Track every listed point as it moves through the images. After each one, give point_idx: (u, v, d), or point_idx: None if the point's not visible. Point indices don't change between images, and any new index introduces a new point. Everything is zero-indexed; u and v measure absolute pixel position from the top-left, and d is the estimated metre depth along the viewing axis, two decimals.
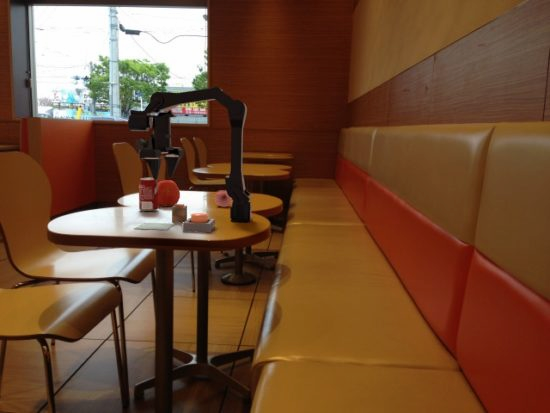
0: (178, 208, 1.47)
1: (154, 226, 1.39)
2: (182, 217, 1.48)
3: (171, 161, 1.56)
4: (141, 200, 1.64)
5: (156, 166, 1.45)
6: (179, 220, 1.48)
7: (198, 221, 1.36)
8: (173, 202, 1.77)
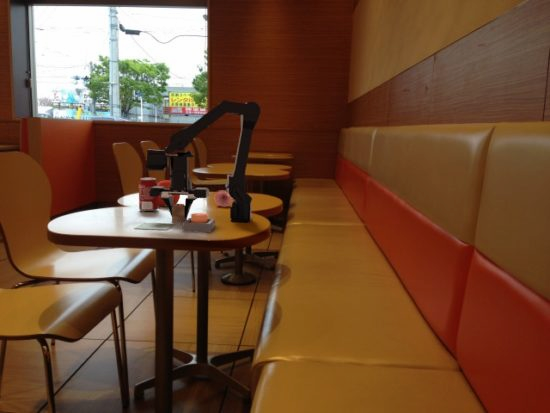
0: (178, 208, 1.47)
1: (154, 226, 1.39)
2: (182, 217, 1.48)
3: None
4: (141, 200, 1.64)
5: None
6: (179, 220, 1.48)
7: (198, 221, 1.36)
8: (173, 202, 1.77)
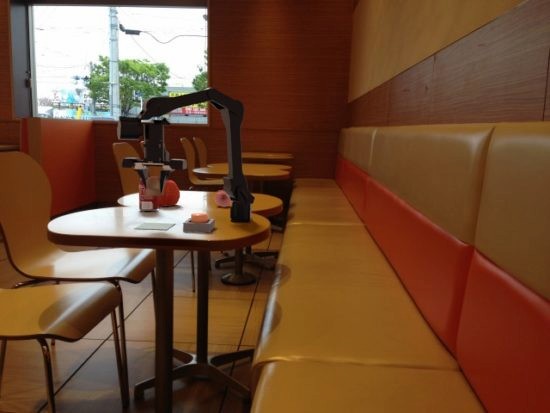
0: (153, 180, 1.36)
1: (154, 226, 1.39)
2: (157, 190, 1.36)
3: None
4: (141, 200, 1.64)
5: None
6: (154, 193, 1.37)
7: (198, 221, 1.36)
8: (173, 202, 1.77)
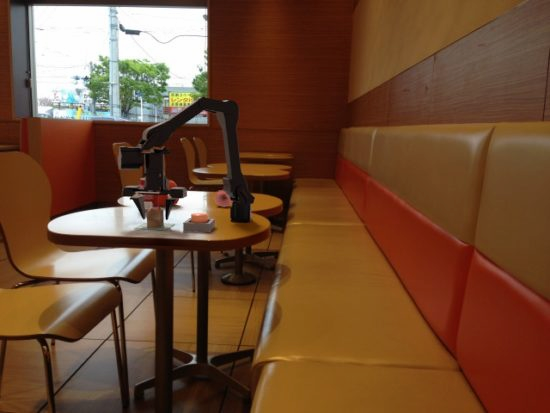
0: (153, 212, 1.38)
1: None
2: (158, 221, 1.38)
3: None
4: None
5: None
6: (154, 225, 1.38)
7: (198, 221, 1.36)
8: None
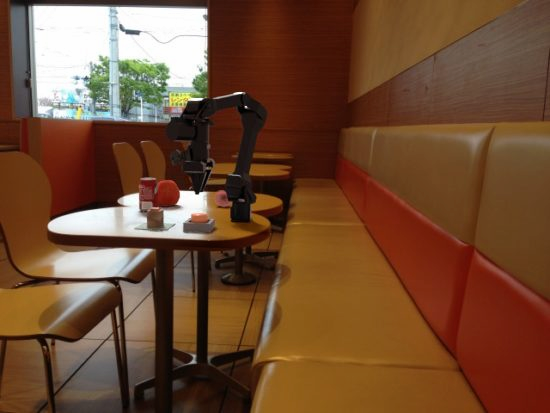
0: (153, 212, 1.38)
1: None
2: (158, 221, 1.38)
3: None
4: (141, 200, 1.64)
5: (201, 180, 1.32)
6: (154, 225, 1.38)
7: (198, 221, 1.36)
8: (173, 202, 1.77)
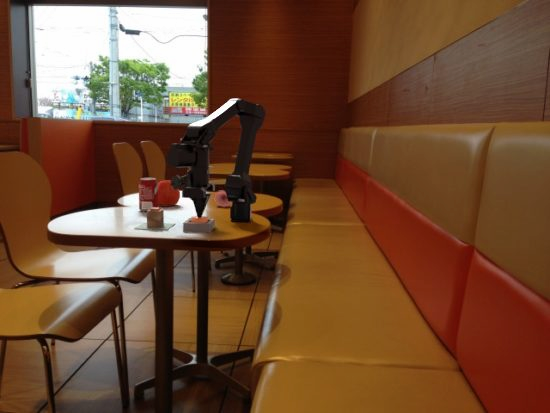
0: (153, 212, 1.38)
1: None
2: (158, 221, 1.38)
3: None
4: (141, 200, 1.64)
5: (203, 204, 1.36)
6: (154, 225, 1.38)
7: None
8: (173, 202, 1.77)
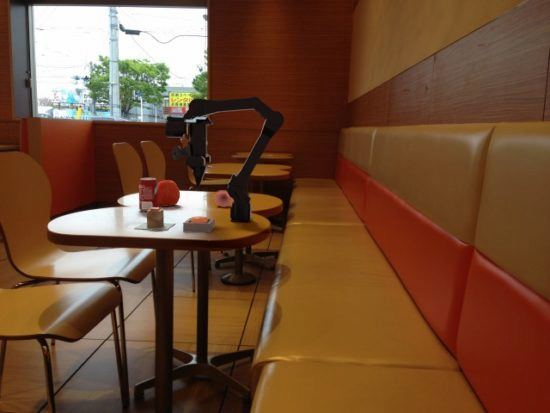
0: (153, 212, 1.38)
1: None
2: (158, 221, 1.38)
3: None
4: (141, 200, 1.64)
5: (202, 172, 1.48)
6: (154, 225, 1.38)
7: None
8: (173, 202, 1.77)
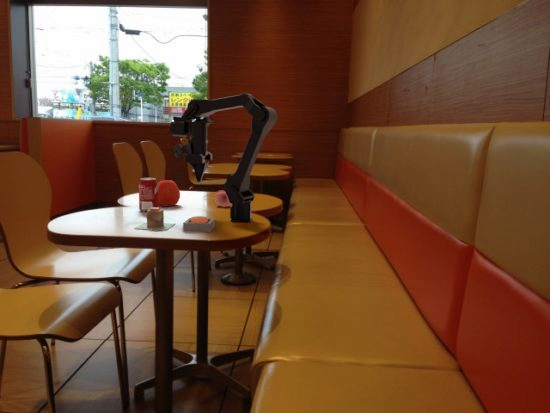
0: (153, 212, 1.38)
1: None
2: (158, 221, 1.38)
3: None
4: (141, 200, 1.64)
5: (202, 169, 1.56)
6: (154, 225, 1.38)
7: None
8: (173, 202, 1.77)
